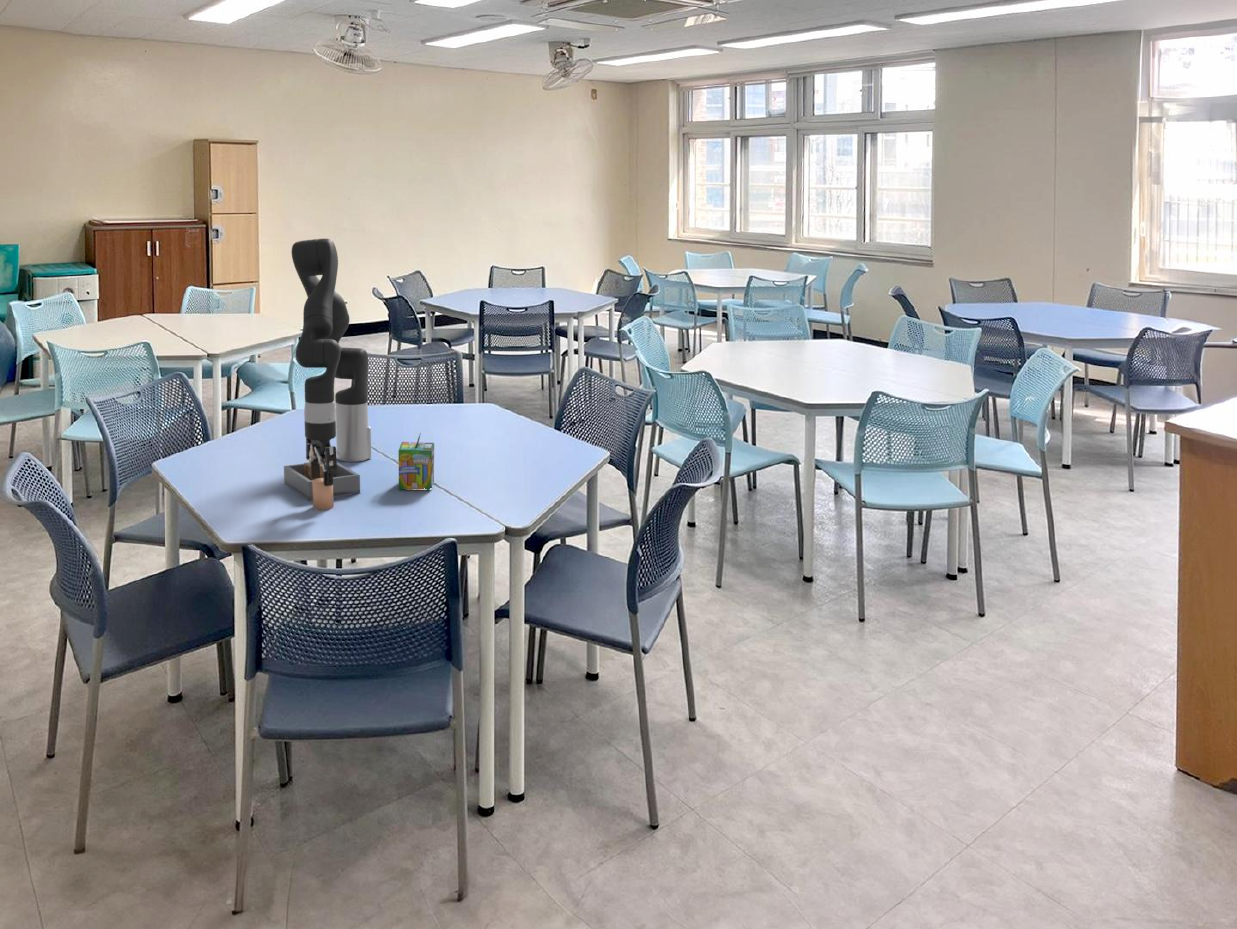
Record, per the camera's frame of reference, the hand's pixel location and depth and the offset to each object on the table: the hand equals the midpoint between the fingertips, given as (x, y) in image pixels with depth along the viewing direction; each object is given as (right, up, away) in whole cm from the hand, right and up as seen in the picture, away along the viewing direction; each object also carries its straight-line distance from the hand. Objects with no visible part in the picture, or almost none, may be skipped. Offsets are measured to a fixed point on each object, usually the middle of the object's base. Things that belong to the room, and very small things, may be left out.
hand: (321, 481), depth 269 cm
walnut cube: (-7, 0, +20) cm, 21 cm away
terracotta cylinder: (0, -6, +2) cm, 7 cm away
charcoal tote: (-5, -2, +18) cm, 19 cm away
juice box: (+19, -2, +24) cm, 31 cm away
